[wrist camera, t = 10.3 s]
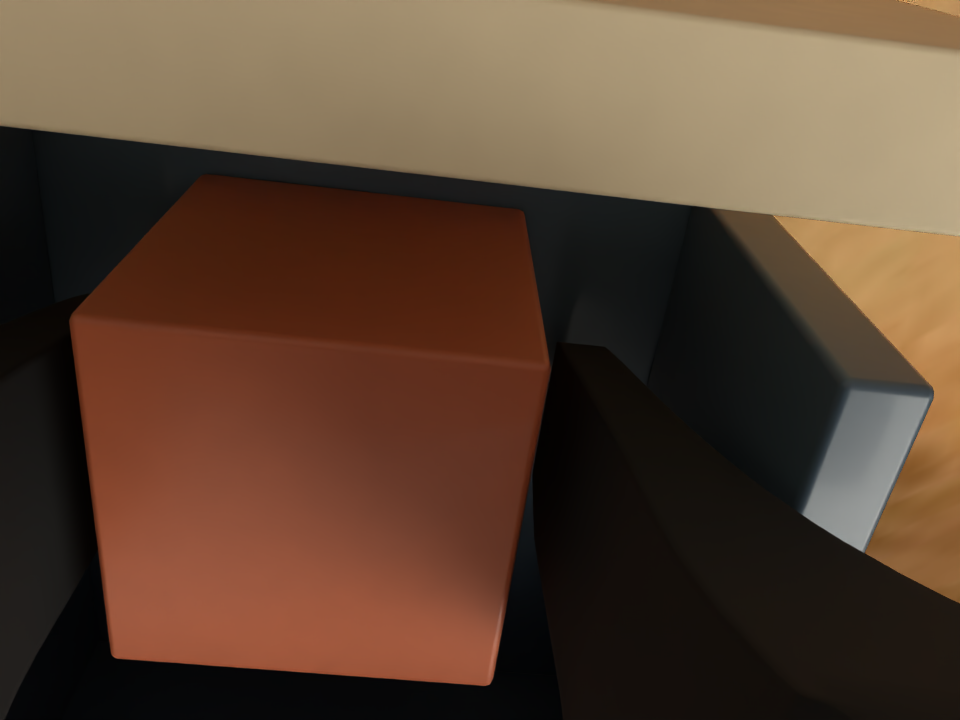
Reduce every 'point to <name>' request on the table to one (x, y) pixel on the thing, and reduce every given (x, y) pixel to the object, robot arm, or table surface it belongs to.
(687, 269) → the drawer
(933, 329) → the table surface
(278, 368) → the block
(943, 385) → the table surface
